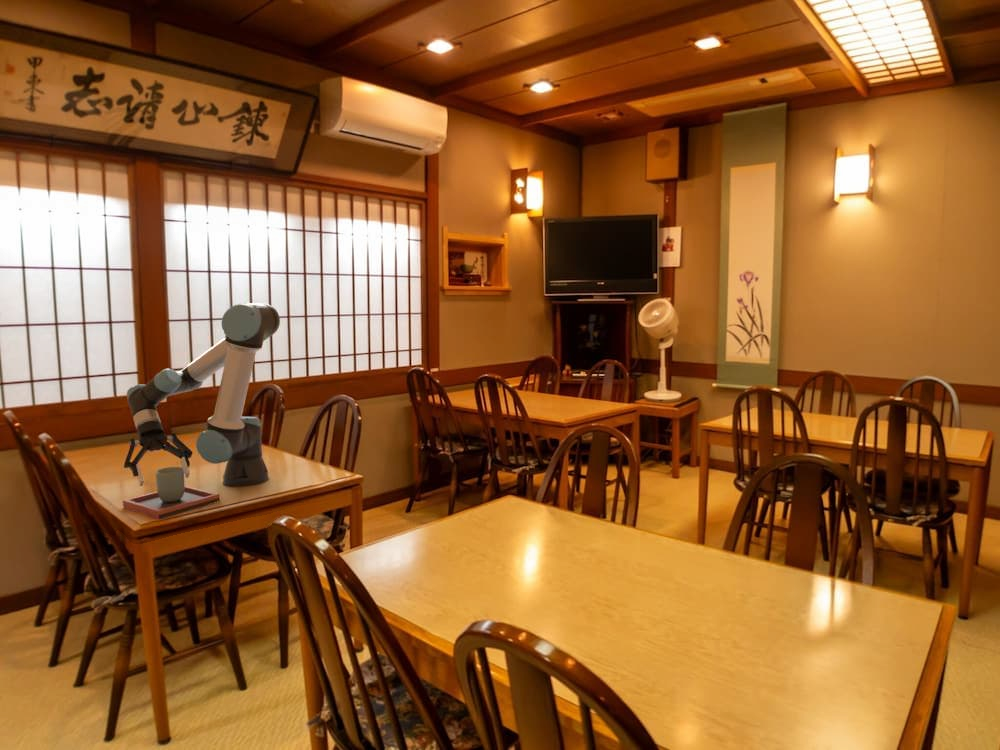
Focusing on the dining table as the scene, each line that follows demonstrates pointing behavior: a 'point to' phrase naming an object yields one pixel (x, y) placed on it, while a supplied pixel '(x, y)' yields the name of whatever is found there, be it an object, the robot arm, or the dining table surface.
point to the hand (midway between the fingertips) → (165, 479)
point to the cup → (170, 484)
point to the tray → (160, 509)
